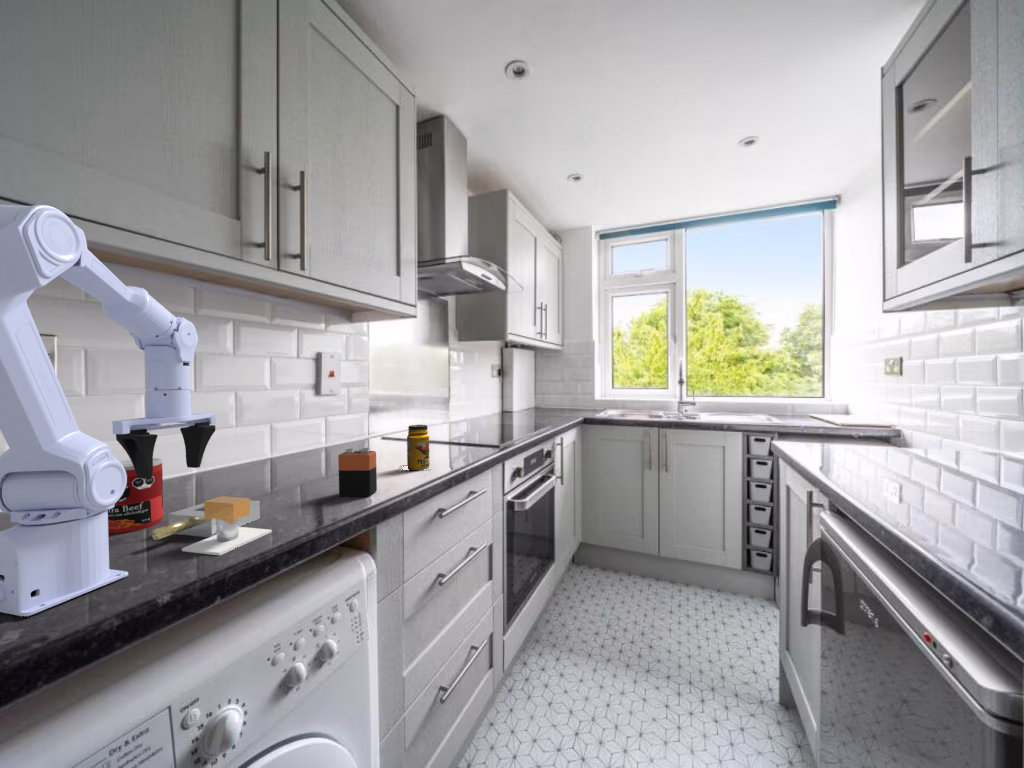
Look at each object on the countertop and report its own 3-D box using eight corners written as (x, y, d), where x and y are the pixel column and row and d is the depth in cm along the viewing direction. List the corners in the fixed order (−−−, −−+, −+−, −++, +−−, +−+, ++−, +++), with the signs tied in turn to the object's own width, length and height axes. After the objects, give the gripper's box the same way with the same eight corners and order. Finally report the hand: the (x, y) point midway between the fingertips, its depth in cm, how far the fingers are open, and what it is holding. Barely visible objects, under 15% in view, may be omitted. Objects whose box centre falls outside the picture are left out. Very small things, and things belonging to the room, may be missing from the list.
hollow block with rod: (179, 550, 60) (178, 529, 60) (133, 545, 62) (133, 524, 62) (259, 518, 73) (259, 500, 73) (220, 515, 76) (220, 498, 75)
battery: (369, 497, 86) (368, 450, 86) (338, 497, 86) (337, 450, 86) (377, 491, 90) (376, 446, 90) (347, 491, 91) (346, 446, 91)
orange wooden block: (250, 536, 64) (249, 498, 64) (234, 543, 61) (233, 503, 61) (222, 533, 65) (221, 496, 65) (205, 540, 62) (204, 501, 62)
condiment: (431, 470, 111) (430, 426, 111) (398, 472, 109) (398, 427, 109) (430, 464, 118) (430, 423, 118) (400, 466, 116) (399, 424, 116)
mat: (219, 555, 58) (219, 552, 58) (181, 551, 60) (181, 548, 60) (271, 532, 67) (271, 529, 67) (237, 528, 68) (237, 526, 68)
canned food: (89, 536, 66) (88, 468, 66) (122, 520, 74) (120, 459, 73) (146, 531, 68) (145, 465, 68) (172, 515, 76) (171, 456, 75)
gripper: (193, 388, 75) (195, 462, 75) (96, 391, 61) (99, 482, 61) (224, 388, 73) (226, 463, 73) (131, 391, 59) (133, 484, 59)
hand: (170, 472), depth 67 cm, fingers open, 7 cm apart
